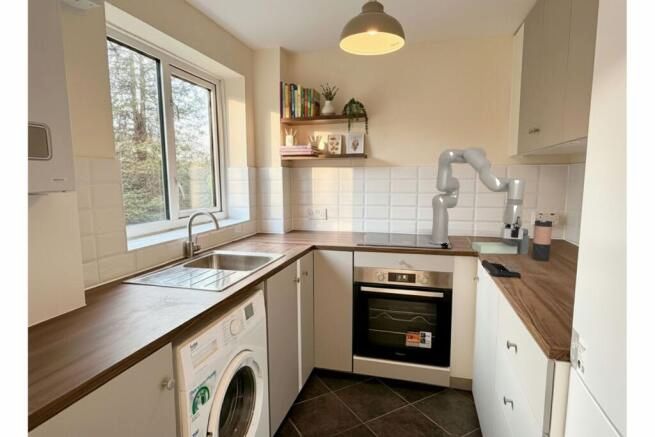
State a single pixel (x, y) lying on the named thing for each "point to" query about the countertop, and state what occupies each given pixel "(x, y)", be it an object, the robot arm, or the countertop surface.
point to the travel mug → (542, 240)
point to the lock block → (510, 233)
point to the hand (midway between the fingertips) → (511, 235)
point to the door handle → (496, 269)
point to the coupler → (504, 245)
